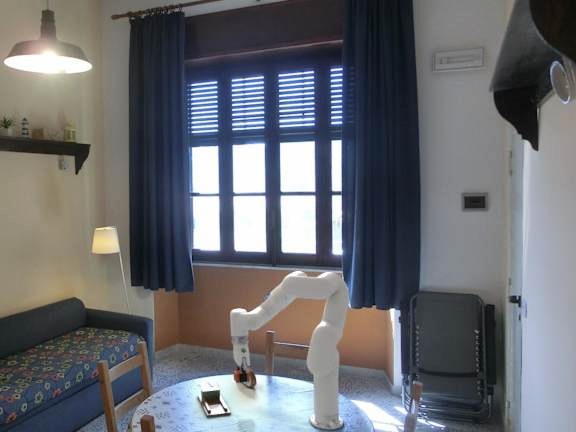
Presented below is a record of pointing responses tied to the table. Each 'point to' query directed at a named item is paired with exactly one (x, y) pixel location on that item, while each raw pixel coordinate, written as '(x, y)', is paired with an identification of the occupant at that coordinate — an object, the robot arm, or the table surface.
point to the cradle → (213, 402)
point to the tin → (252, 379)
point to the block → (236, 376)
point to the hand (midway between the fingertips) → (241, 379)
